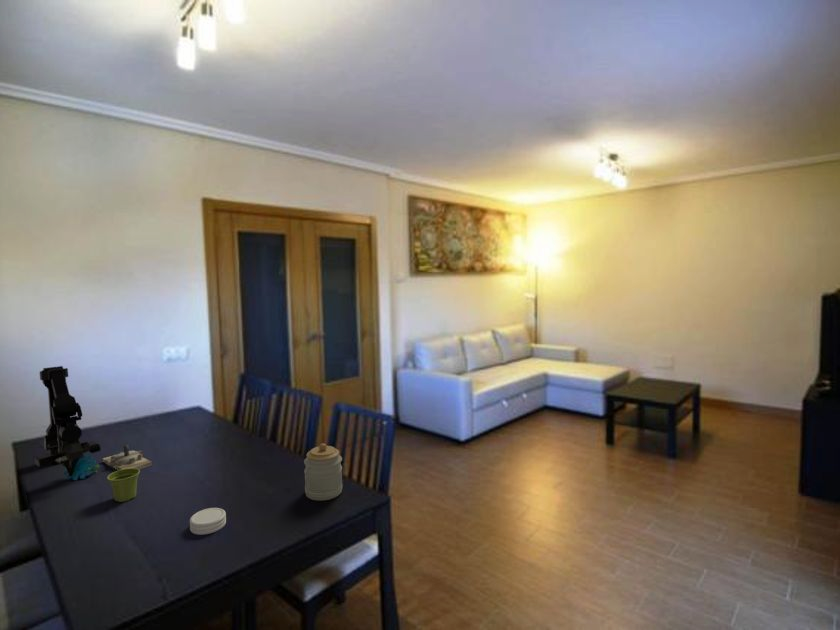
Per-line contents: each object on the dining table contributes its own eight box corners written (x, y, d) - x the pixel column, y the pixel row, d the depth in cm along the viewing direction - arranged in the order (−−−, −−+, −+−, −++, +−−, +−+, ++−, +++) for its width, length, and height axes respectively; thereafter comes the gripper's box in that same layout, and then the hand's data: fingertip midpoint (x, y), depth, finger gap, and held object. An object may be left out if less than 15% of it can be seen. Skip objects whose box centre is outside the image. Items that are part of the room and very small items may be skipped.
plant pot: (106, 507, 150) (105, 482, 149) (111, 495, 158) (109, 471, 157) (140, 500, 154) (138, 476, 153) (142, 489, 162) (140, 465, 161)
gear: (58, 478, 167) (69, 453, 174) (62, 484, 171) (73, 459, 178) (92, 479, 170) (102, 453, 176) (96, 485, 174) (105, 460, 181)
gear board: (101, 462, 186) (100, 444, 185) (131, 453, 195) (130, 436, 194) (122, 474, 174) (121, 455, 173) (153, 464, 183) (152, 446, 182)
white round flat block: (189, 538, 132) (188, 527, 132) (191, 521, 141) (190, 511, 141) (226, 531, 136) (225, 519, 136) (226, 514, 145) (225, 504, 145)
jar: (349, 487, 163) (348, 439, 162) (330, 504, 151) (329, 452, 150) (317, 481, 168) (316, 435, 166) (297, 498, 155) (295, 448, 154)
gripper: (43, 447, 155) (46, 491, 156) (105, 432, 170) (108, 472, 172) (32, 440, 161) (36, 483, 163) (93, 426, 177) (96, 465, 178)
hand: (70, 475), depth 169 cm, fingers closed
